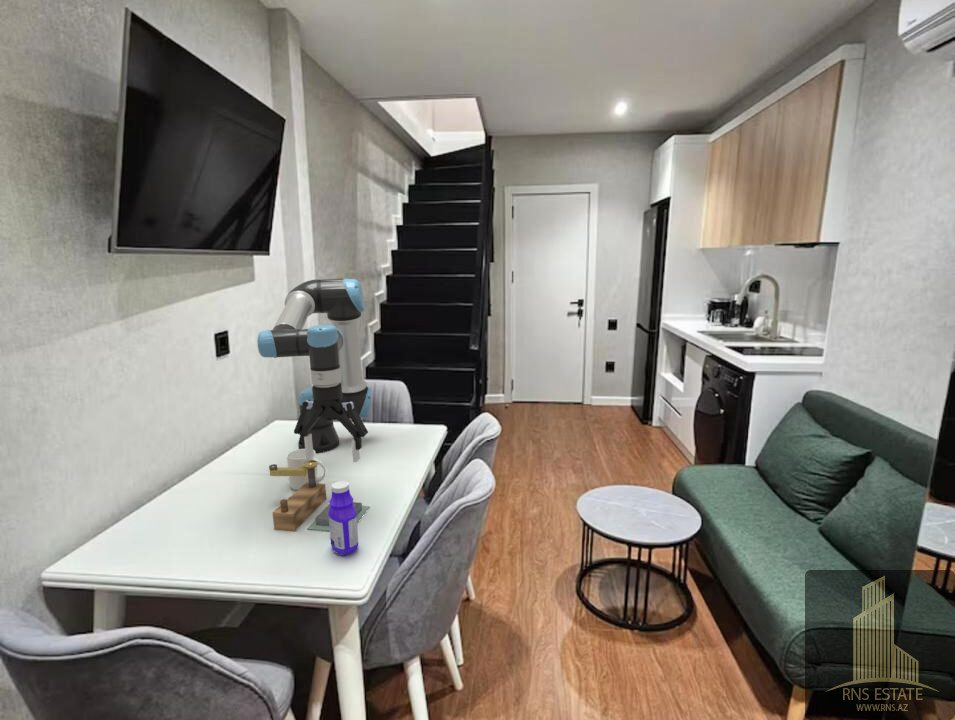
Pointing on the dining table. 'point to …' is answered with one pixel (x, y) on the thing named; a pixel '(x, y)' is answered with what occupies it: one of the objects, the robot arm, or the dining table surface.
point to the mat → (327, 528)
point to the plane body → (299, 504)
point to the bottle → (342, 520)
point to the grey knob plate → (324, 517)
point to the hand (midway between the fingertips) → (333, 459)
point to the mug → (296, 461)
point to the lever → (292, 469)
